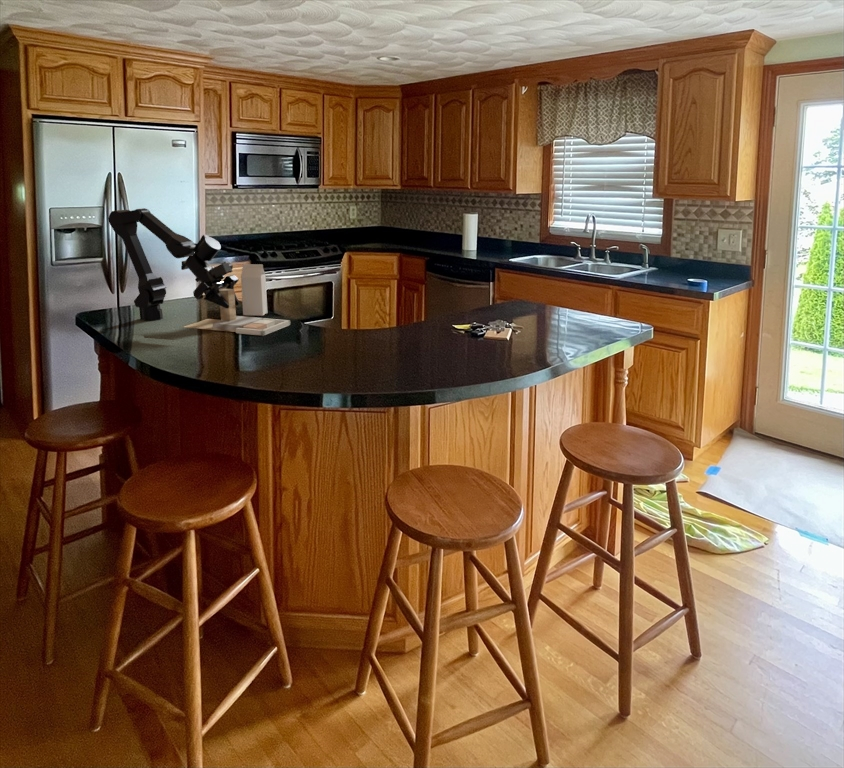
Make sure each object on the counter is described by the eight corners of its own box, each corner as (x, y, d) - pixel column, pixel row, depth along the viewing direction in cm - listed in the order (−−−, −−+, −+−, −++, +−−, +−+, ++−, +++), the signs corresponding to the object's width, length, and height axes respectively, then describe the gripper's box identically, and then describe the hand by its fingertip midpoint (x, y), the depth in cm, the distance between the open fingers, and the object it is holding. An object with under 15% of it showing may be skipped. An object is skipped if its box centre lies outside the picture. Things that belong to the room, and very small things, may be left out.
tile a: (253, 330, 247) (253, 322, 246) (261, 327, 252) (261, 319, 251) (267, 331, 245) (266, 323, 245) (275, 328, 250) (274, 320, 249)
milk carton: (263, 319, 266) (260, 265, 261) (243, 319, 266) (239, 265, 261) (267, 315, 273) (264, 263, 268) (248, 315, 273) (244, 262, 268)
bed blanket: (212, 329, 244) (210, 292, 240) (235, 321, 256) (233, 286, 252) (241, 331, 240) (239, 294, 237) (263, 323, 252) (261, 288, 249)
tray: (236, 337, 239) (235, 328, 238) (264, 326, 255) (264, 318, 254) (263, 340, 236) (263, 330, 235) (290, 329, 251) (290, 320, 250)
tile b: (243, 334, 241) (242, 326, 241) (251, 330, 246) (251, 323, 245) (257, 335, 240) (256, 327, 239) (265, 332, 244) (264, 324, 244)
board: (182, 331, 247) (182, 326, 247) (208, 323, 260) (207, 318, 260) (237, 336, 241) (237, 331, 240) (261, 327, 253) (260, 323, 253)
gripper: (198, 257, 235) (230, 294, 235) (231, 250, 252) (262, 285, 251) (179, 281, 240) (211, 317, 239) (213, 273, 257) (243, 307, 256)
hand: (233, 306), depth 246 cm, fingers open, 5 cm apart
